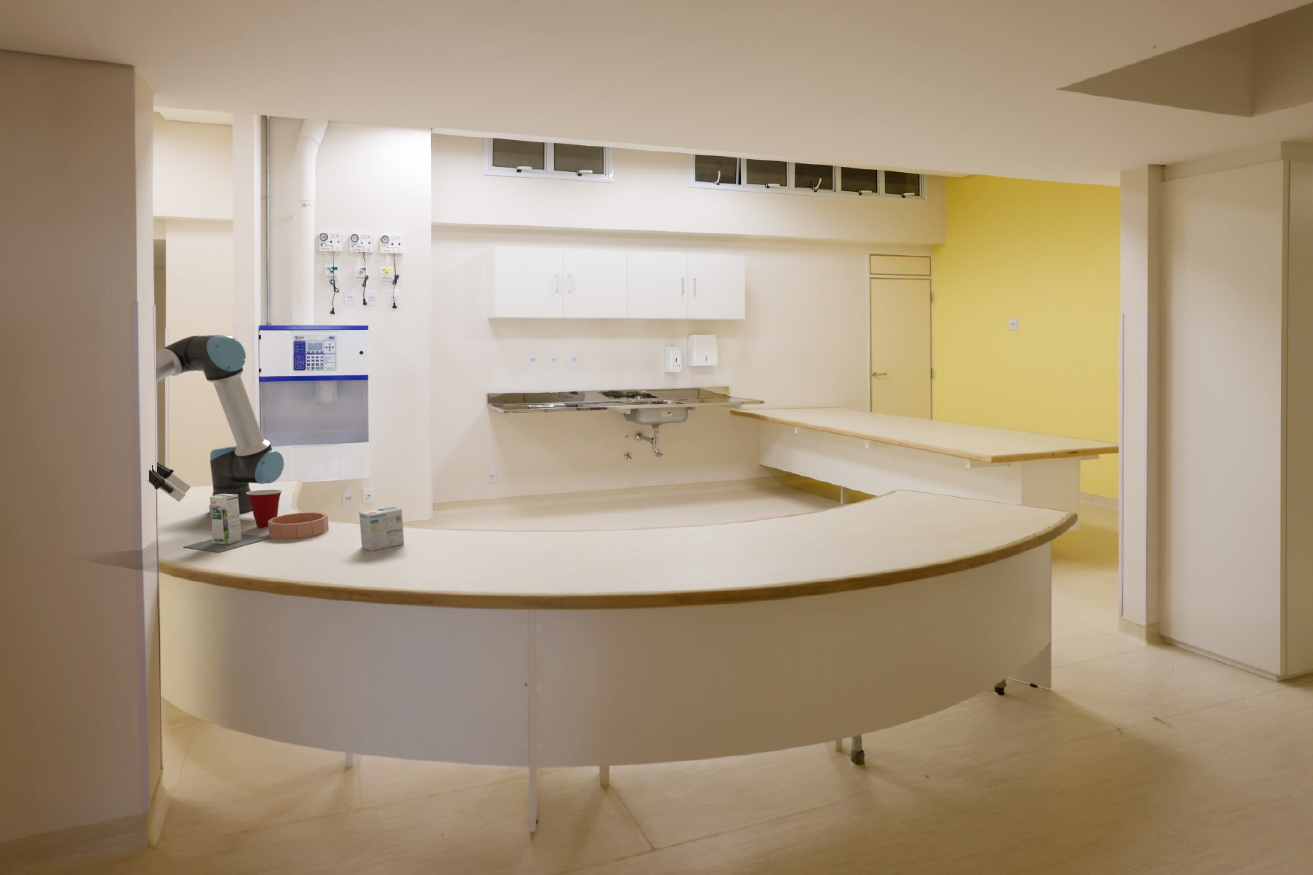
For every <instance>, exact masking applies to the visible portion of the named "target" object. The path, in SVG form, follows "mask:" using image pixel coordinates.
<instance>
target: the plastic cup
mask: <svg viewBox="0 0 1313 875" xmlns="http://www.w3.org/2000/svg"><path fill="white" fill-rule="evenodd" d="M282 492H283V490H282V489H260V490H259V489H257V490H251V491H250V492H246V494H247V495H248V497H249V500H250V503H251V507H252V510H251V511H252V514H253V515H252V516H253V518H254V520H255V524H256V528H258V529H269V528H268V520H270V519H272V518H274V517H278V515H279V514H278V513H279V505H280V504H279V503H280V497H281V494H282Z"/></svg>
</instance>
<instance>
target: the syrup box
mask: <svg viewBox="0 0 1313 875" xmlns="http://www.w3.org/2000/svg"><path fill="white" fill-rule="evenodd" d="M209 503H210V504H209V506H211V513H210V515H211V527H212V539H213V543H214V544H216V543H217V544H226V545H227V544H231V543H234V542H237V541H240V540H241V534H242V530H241V517H240V513H239V502H238V495H232V494H218V495H214V496H212V495H211V496H209Z"/></svg>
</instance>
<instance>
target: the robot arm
mask: <svg viewBox="0 0 1313 875" xmlns="http://www.w3.org/2000/svg"><path fill="white" fill-rule="evenodd" d="M155 355H156V383H158V382H160V381H162V380H164V379H165V378H168V377H169V376H173V377H176V376H178V375H180V374H183V373H187V372H195V371H196V372H199V371H201V372H202V371H203V374H204V376H205V379H206V381H208V382H209V383H212V384H213V386H214V388H215V391H216V393H217V398H218V399H219V402H220V404H221V406H222V410H223V412H224V415H225V417H226V420H227V423H228V425H229V429H230V431H231V434H232V436H233V439H234V441H235V444H236V445H232V446H226V447H219V448H214V449H212V450H211V451H210V452H209V454H210V457H209V459H210V460H209V462H210V472H211V480H212V481H211V482H212V495H211V496H214V495H218V494H232V495H238V502H239V514H242V513H246V512H251V511H252V507H251V503H250V500H249V497H248V495H247V494H246V492H250V491H252V490H251V488H250V484H259V485H265V484H272V483H274V482H276V481H277V480H279V478H280V477H281V475H282V473H283V471H284V467H285V461H284V460H285V459H284V457H283V455H282V453H281V452H279V451H277V450H275V449H273V448H272V444H271V443H270V441H269V440H268V439H265V438H264V437H263V435H262V432H261V429H260V428H261V427H260V425H259V423H258V421H257V416H256V415H255V412H254V409H253V406H252V404H251V401H250V398H249V396H248V393H247V390H246V388H245V384H244V381H243V379H242V377H241V375H242V374H243V372H244V368H243V367H244V365H245V363H246V360H245V359H246V358H247V356H246V355H247V354H246V350H245V348H244V346H243V344H242V343H241V342H240V341H239V339H236V338H234V337H233V336H231V335H230V336H229V335H224V334H214V335H213V334H212V335H210V334H209V335H191V336H188V337H184V338H182V339H180V340H177V341H174V343H171V344H168V345H167V346H164V347H162V348H160V349H158V350H157V353H156V354H155ZM174 472H175V470H174V469H170V468H169V467H166V466H165V465H163V464H162V463H160V462H159V461H157V472H156V471H154V469H153V465H152V471H151V470H149V481H148V482H149V484H151V485H152V486H153V488H154V489H155V491H156V490H159V489H160V490H162V491H163V492H164V493H165V494H167V495H168V496H170V497H171V498H173V500H174V499H175V500H176V501H177V502H178V503H180V502H181V501H182V500H183V498H184V497H185V496H186V495H187V494H186V493H187V492H188V491H189V490H190V489H191V488H192V486H191V485H190V484H189V483H187V482H185V480H183V479H182V478H180V477H178V476H177V475H176V474H174ZM208 510H209V514H211V506H210V505H209V508H208Z"/></svg>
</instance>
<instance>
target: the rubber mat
mask: <svg viewBox="0 0 1313 875" xmlns="http://www.w3.org/2000/svg"><path fill="white" fill-rule="evenodd" d="M269 539H272V537H271V536H263V535H262V536H261V535H255V534H247V533H241V540H240V541H237V542H234V543H231V544H227V545H226V544H217V543H216V544H214V543H213V538H211V539H206V540H203V541H200V542H196V543H192V544H188V545H185V546H183V548H184V549H193V550H197V551H206V552H212V553H213V552H214V553H223V552H227V551H230V550H234V549H237V548H240V546H241V547H244V546H243V545H245V546H248V545H252V544H255V543H259V542H262V540H263V541H266V540H269ZM258 541H259V542H258ZM229 549H230V550H229Z"/></svg>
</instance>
